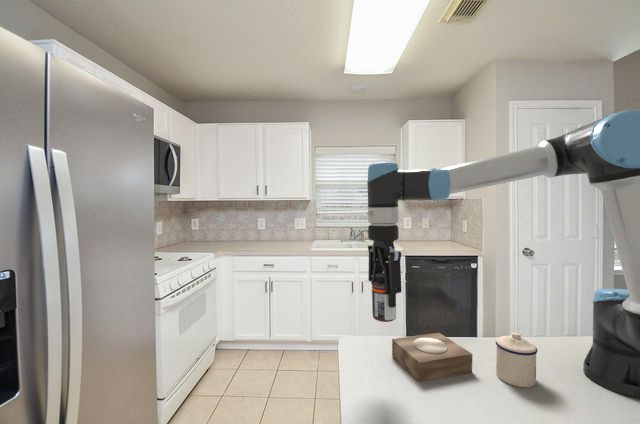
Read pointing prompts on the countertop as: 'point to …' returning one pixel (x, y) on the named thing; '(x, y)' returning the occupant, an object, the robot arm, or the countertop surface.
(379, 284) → the supplement bottle
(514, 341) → the cream ceramic oval pot
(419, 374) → the walnut stand
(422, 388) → the countertop surface
